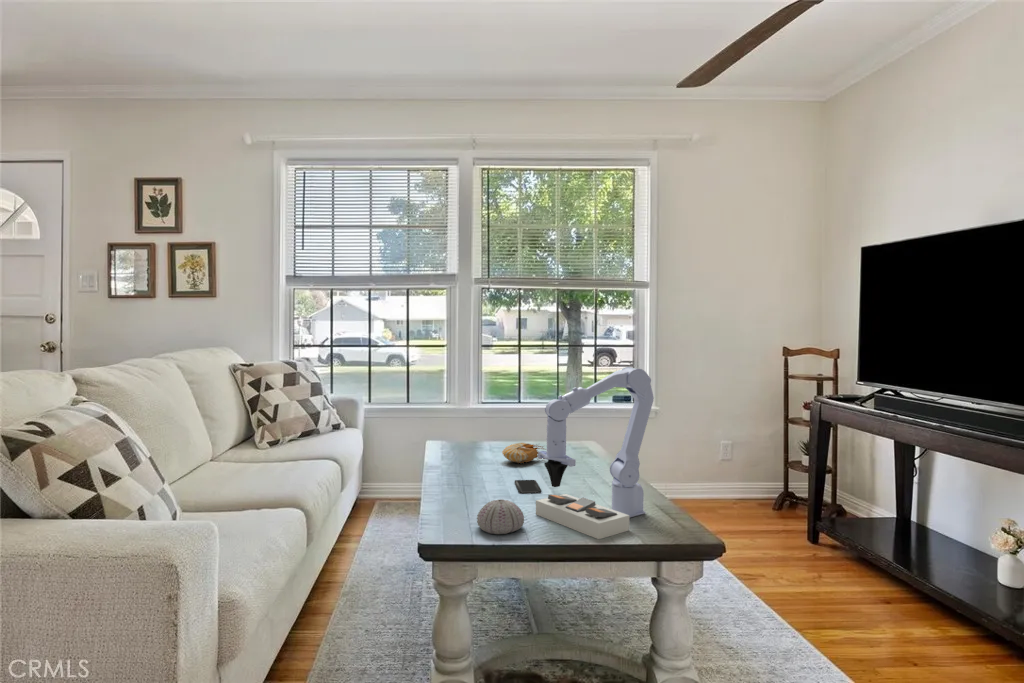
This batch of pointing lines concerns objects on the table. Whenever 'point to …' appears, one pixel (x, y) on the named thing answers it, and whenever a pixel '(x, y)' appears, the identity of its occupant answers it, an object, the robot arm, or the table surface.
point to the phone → (527, 486)
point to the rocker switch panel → (583, 518)
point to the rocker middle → (581, 505)
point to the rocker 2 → (600, 512)
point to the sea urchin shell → (500, 517)
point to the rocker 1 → (561, 499)
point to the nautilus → (521, 452)
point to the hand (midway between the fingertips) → (555, 486)
